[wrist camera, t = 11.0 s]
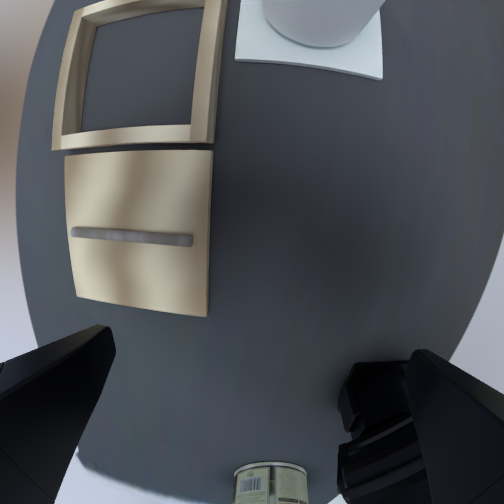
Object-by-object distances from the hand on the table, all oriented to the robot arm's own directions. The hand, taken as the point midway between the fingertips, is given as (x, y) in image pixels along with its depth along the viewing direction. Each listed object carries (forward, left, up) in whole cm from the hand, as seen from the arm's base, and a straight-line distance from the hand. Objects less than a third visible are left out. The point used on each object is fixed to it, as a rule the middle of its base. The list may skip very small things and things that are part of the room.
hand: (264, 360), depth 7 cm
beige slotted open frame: (+10, -6, -13) cm, 17 cm away
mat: (-2, -17, -13) cm, 22 cm away
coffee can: (-4, +34, -13) cm, 37 cm away
